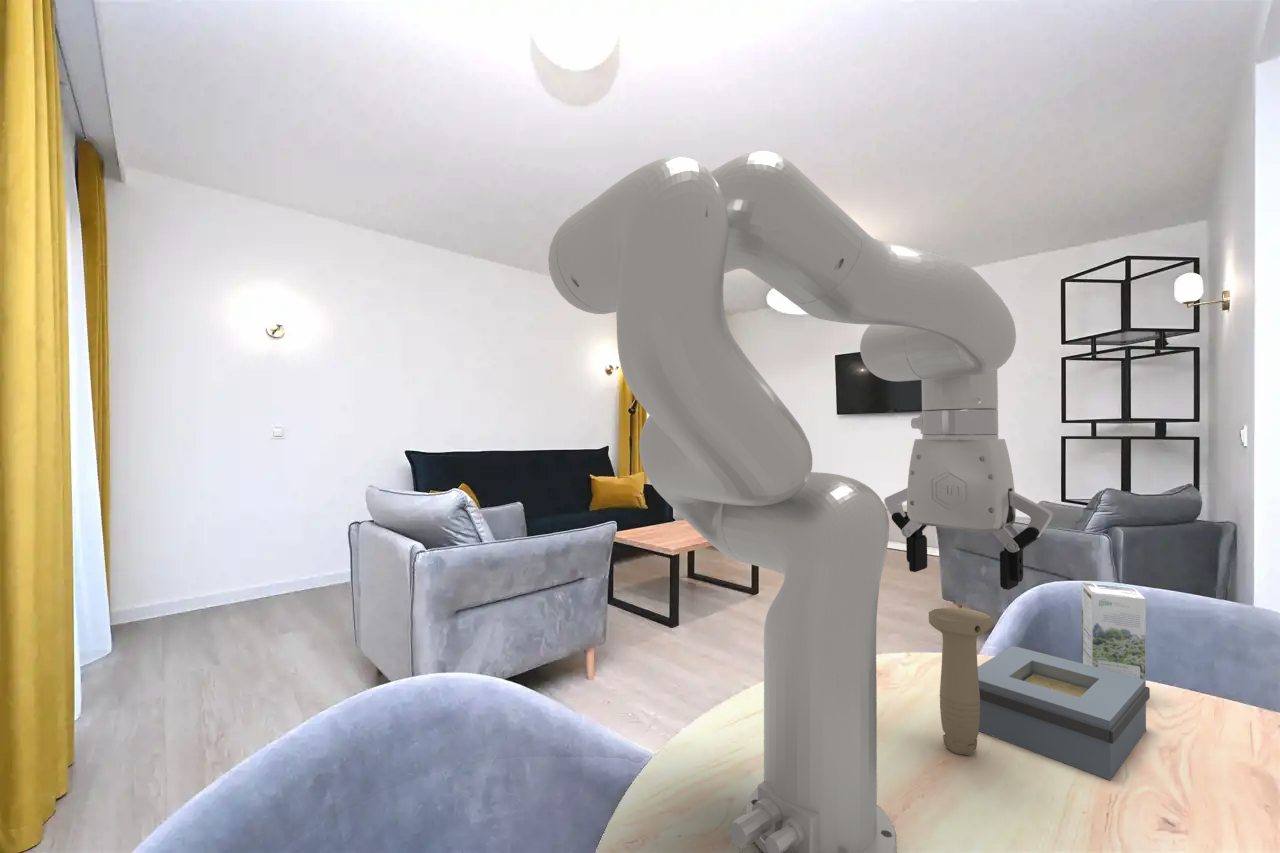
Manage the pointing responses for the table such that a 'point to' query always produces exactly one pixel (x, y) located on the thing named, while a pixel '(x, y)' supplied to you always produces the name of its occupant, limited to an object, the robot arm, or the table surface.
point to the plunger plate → (1056, 685)
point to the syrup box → (1114, 629)
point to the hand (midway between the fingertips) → (961, 578)
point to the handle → (960, 675)
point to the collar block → (1063, 709)
